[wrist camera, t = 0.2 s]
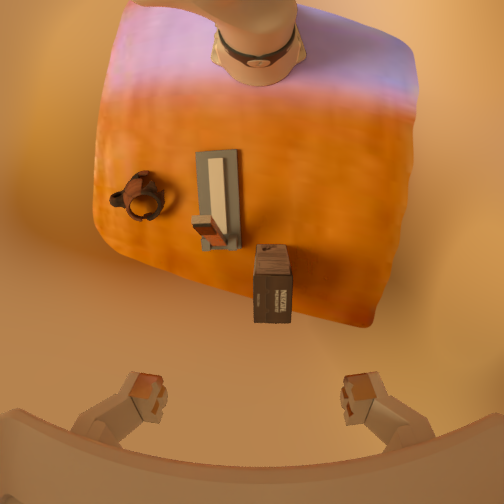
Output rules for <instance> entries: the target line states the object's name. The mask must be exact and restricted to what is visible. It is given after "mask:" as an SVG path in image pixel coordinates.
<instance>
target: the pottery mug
mask: <svg viewBox="0 0 504 504" xmlns="http://www.w3.org/2000/svg"><path fill="white" fill-rule="evenodd" d="M148 173H149V171H141V172H138V173H136V174H135V175H134V176H133V177H132V178H131V180H130V181H129V182H128V183H127V185H126V186H125V188H124V190H122V191H120V192H116V193H114V194H112V195H111V196H110V200H109V201H110V204H111V205H112V206H114V207H123V208H126V211H127V213H128V215H129V216H130V217H131V218H133V219H134V220H136V221H142V219H147V220H149V221H151V220H153V219H155V218H156V217H157V216H158V215H159V214H160V212H161V210H162V209H163V207H164V203H165V201H164V190H162V191H161V192H158V193H157V187H156V186H155V183H154V182H153V181H150V182H149V184H148V185H146V186H145V187H144V188H143V189H142V182H143V180H142V179H141V178H139V176H144V175H148ZM140 195H149V196H152V197H153V198H154V199H156V201H157V203H158V208H157V210H156V211H155V213H153V214H151V213H147V214H144V216H138V215H135V214H134V213H133V212H132V211H131V209H130V203H131V201H132V200H133V199H134V198H135V197H137V196H140Z"/></svg>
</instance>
